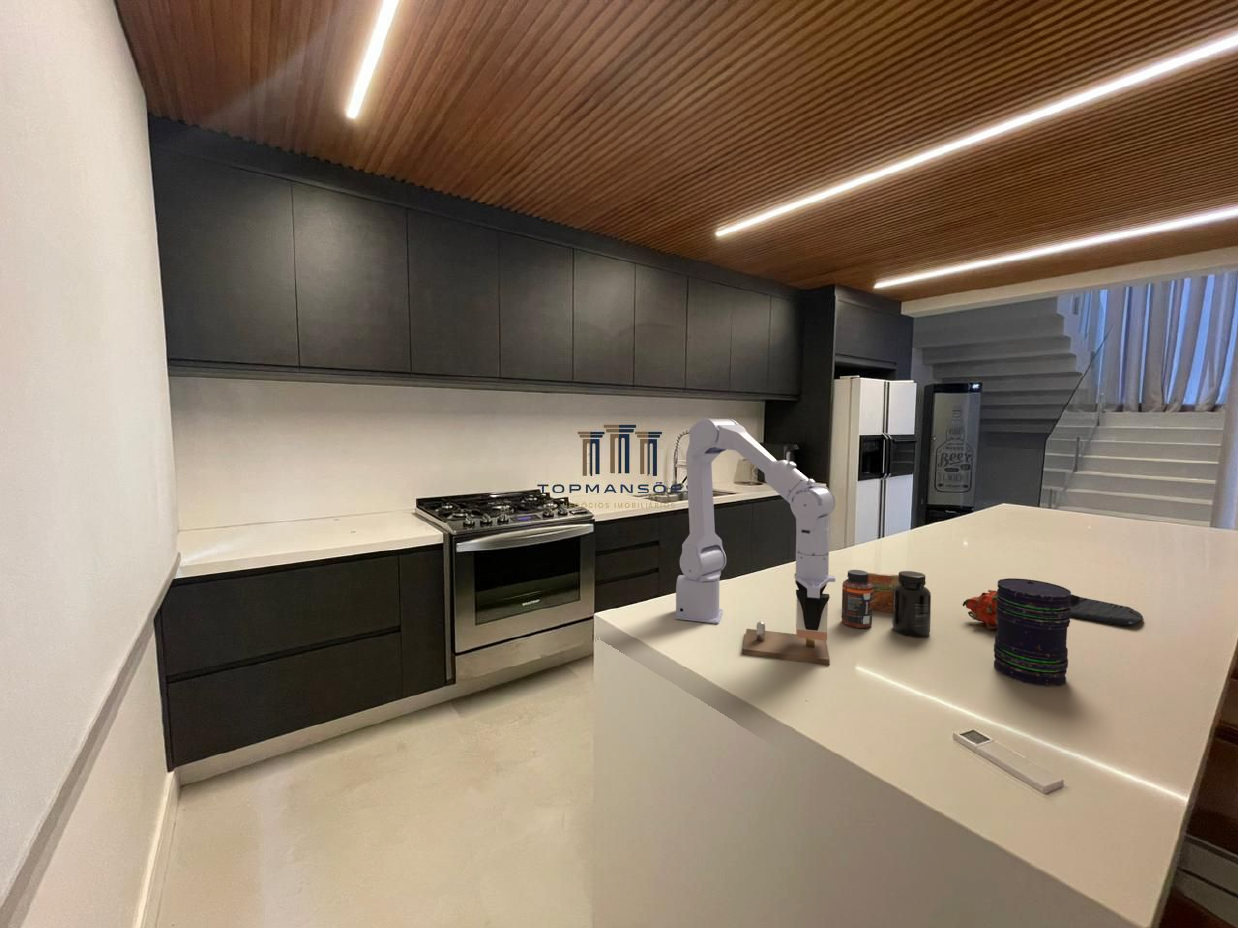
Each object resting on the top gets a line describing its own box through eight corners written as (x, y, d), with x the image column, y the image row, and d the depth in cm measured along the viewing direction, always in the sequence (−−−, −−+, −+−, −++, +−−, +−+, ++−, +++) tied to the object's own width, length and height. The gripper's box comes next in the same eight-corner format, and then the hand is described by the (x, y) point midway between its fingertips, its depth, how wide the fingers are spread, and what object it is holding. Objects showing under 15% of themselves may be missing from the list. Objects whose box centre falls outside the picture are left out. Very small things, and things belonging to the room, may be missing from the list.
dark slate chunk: (1136, 636, 103) (1137, 612, 103) (1003, 606, 120) (1004, 586, 120) (1146, 618, 113) (1148, 596, 112) (1022, 593, 130) (1023, 574, 129)
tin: (848, 608, 119) (849, 572, 118) (847, 603, 122) (848, 569, 121) (922, 616, 113) (923, 579, 113) (920, 611, 116) (921, 575, 116)
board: (742, 654, 95) (742, 648, 95) (746, 633, 105) (746, 628, 105) (829, 664, 91) (829, 659, 90) (825, 642, 100) (825, 637, 100)
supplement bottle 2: (927, 627, 107) (929, 571, 106) (932, 640, 101) (934, 580, 100) (890, 622, 110) (892, 567, 109) (892, 634, 104) (894, 576, 103)
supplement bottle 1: (875, 630, 106) (877, 576, 105) (844, 628, 107) (846, 575, 106) (867, 619, 112) (869, 568, 111) (838, 617, 113) (839, 567, 112)
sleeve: (796, 637, 94) (797, 600, 94) (796, 626, 99) (796, 591, 99) (826, 640, 93) (827, 602, 92) (824, 629, 98) (825, 593, 97)
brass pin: (805, 647, 96) (806, 628, 95) (805, 643, 97) (806, 625, 97) (815, 648, 95) (815, 629, 95) (814, 644, 97) (815, 626, 96)
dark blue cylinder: (1073, 693, 80) (1078, 600, 79) (995, 677, 86) (999, 590, 85) (1060, 667, 89) (1065, 583, 88) (990, 654, 94) (994, 575, 93)
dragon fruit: (1033, 647, 101) (965, 636, 111) (1043, 614, 105) (976, 606, 115) (1019, 617, 98) (951, 608, 108) (1029, 585, 102) (962, 579, 112)
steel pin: (756, 641, 98) (756, 622, 98) (756, 637, 100) (756, 619, 100) (764, 642, 98) (765, 623, 98) (765, 638, 99) (765, 620, 99)
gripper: (839, 563, 87) (837, 641, 88) (832, 544, 100) (830, 612, 101) (795, 560, 89) (794, 636, 90) (794, 542, 103) (793, 608, 104)
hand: (810, 623), depth 96 cm, fingers closed on sleeve, 5 cm apart
